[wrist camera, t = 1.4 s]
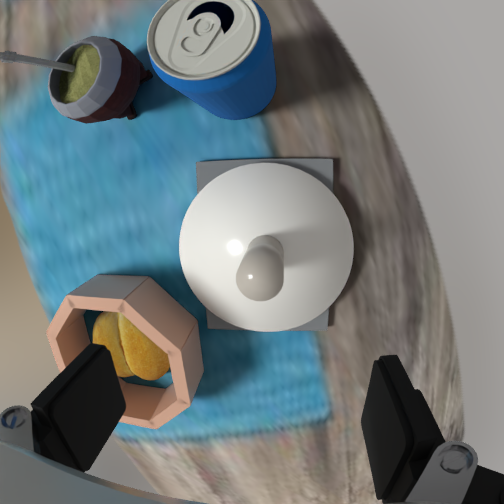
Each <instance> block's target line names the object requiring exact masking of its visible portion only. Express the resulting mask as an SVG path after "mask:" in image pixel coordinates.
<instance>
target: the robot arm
mask: <svg viewBox="0 0 504 504" xmlns="http://www.w3.org/2000/svg"><path fill="white" fill-rule="evenodd" d="M31 406H32V408H33V410H32V411H31V412H30V411H29V409H28V408H26V407H24V406H12V407H9V408H7V409H5V410H4V411H3V412H2V413H1V414H0V504H207V503H200V502H194V501H188V500H182V499H177V498H172V497H167V496H162V495H158V494H154V493H149V492H145V491H141V490H137V489H134V488H130V487H126V486H123V485H120V484H116V483H113V482H110V481H106V480H104V479H100V478H98V477H95V476H92V475H88V474H86V473H84V472H85V471H88V470H89V469H90V468H91V466H92V464H93V463H94V461H95V459H96V458H97V456H98V455H99V453H100V451H101V450H102V448H103V446H104V445H105V443H106V442H107V440H108V438H109V437H110V435H111V433H112V432H113V430H114V429H115V427H116V425H117V424H118V422H119V421H120V419H121V417H122V416H123V414H124V412H125V410H126V402H125V399H124V396H123V393H122V389H121V386H120V383H119V380H118V376H117V373H116V370H115V366H114V363H113V359H112V355H111V352H110V350H108V349H107V347H106V346H105V345H101V344H95V343H90V344H89V345H88V346H87V347H86V348H85V349H84V350H83V351H82V352H81V353H80V354H79V355H78V356H77V357H76V358H75V359H74V360H73V361H72V362H71V363H70V364H69V365H68V366H67V367H66V368H65V369H64V370H63V371H62V372H61V373H60V374H59V375H58V376H57V377H56V378H55V379H54V380H53V381H52V382H51V383H50V384H49V385H48V386H47V387H46V388H45V389H44V390H43V391H42V392H41V393H40V394H39V396H38V397H36V399H35V400H34V401H33V402H32V403H31ZM361 426H362V430H363V435H364V439H365V444H366V448H367V453H368V457H369V462H370V467H371V472H372V477H373V482H374V487H375V492H376V497H377V499H378V500H381V499H382V502H383V504H504V474H501V473H498V472H496V471H493V470H490V469H487V468H485V467H482V466H479V465H477V463H478V457H477V453H476V452H475V450H474V449H473V448H472V447H471V446H470V445H468V444H466V443H464V442H460V441H449V442H445V440H444V438H443V436H442V434H441V431H440V429H439V427H438V425H437V423H436V421H435V419H434V417H433V415H432V413H431V411H430V408H429V406H428V404H427V402H426V400H425V398H424V396H423V394H422V393H421V391H420V390H418V389H416V390H415V389H414V387H413V385H412V383H411V381H410V379H409V377H408V375H407V373H406V371H405V369H404V367H403V365H402V363H401V361H400V360H399V358H398V356H397V355H386V356H380V358H379V360H375V361H374V364H373V368H372V373H371V378H370V383H369V388H368V392H367V397H366V401H365V405H364V409H363V413H362V418H361Z"/></svg>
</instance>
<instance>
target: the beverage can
mask: <svg viewBox="0 0 504 504" xmlns="http://www.w3.org/2000/svg"><path fill="white" fill-rule="evenodd" d="M147 46H148V51H149V56H150V60H151V64H152V66H153V68H154V70H155V72H156V73H157V74H158V76H159V77H160V78H161V79H162V80H163V81H164V82H165V83H167V84H168V85H170V86H171V87H173V88H174V89H176V90H177V91H179V92H181V93H182V94H184V95H185V96H187V97H188V98H190V99H191V100H193V101H194V102H196V103H197V104H199V105H200V106H202V107H203V108H205V109H206V110H208V111H209V112H211V113H212V114H214V115H216V116H218V117H220V118H224V119H229V120H240V119H245V118H249V117H251V116H253V115H256V114H257V113H259V112H260V111H262V110H263V109H264V108H265V107H266V106H267V105H268V104H269V102H270V101H271V99H272V97H273V96H274V93H275V89H276V71H275V62H274V53H273V44H272V35H271V27H270V23H269V20H268V18H267V16H266V14H265V12H264V11H263V10H262V8H261V7H260V6H259V5H258V4H257V3H256V2H255V1H253V0H168V1H167V2H166V3H165V4H164V5H163V6H162V7H161V8H160V9H159V10H158V12H157V13H156V14H155V16H154V18H153V19H152V22H151V24H150V26H149V30H148V35H147Z"/></svg>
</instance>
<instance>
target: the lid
mask: <svg viewBox="0 0 504 504" xmlns="http://www.w3.org/2000/svg"><path fill="white" fill-rule="evenodd" d="M179 254H180V260H181V265H182V269H183V272H184V275H185V277H186V280H187V282H188V284H189V286H190V288H191V289H192V291H193V293H194V294H195V295H196V297H197V298H198V299H199V300H200V302H201V303H202V304H203V305H204V306H205V307H206V308H207V309H208V310H210V311H211V312H212V313H213V314H215V315H216V316H218V317H219V318H221V319H222V320H224V321H226V322H228V323H230V324H232V325H235V326H238V327H241V328H244V329H248V330H253V331H262V332H274V331H282V330H288V329H291V328H295V327H298V326H300V325H303V324H305V323H307V322H309V321H311V320H313V319H314V318H316V317H318V316H319V315H320V314H321V313H323V312H324V311H325V310H326V309H327V308H328V307H329V306H330V305H331V304H332V303H333V302H334V301H335V300H336V298H337V297H338V296H339V295H340V293H341V291H342V290H343V288H344V286H345V284H346V282H347V279H348V277H349V275H350V271H351V267H352V262H353V254H354V242H353V235H352V230H351V226H350V223H349V219H348V217H347V215H346V213H345V211H344V209H343V207H342V205H341V204H340V202H339V201H338V199H337V198H336V197H335V195H334V194H333V193H332V192H331V191H330V190H329V189H328V188H327V187H326V186H325V185H324V184H323V183H322V182H320V181H319V180H317V179H316V178H314V177H313V176H311V175H310V174H308V173H306V172H304V171H302V170H300V169H297V168H294V167H291V166H288V165H282V164H277V163H254V164H248V165H243V166H239V167H237V168H234V169H231V170H229V171H227V172H225V173H223V174H221V175H219V176H218V177H216V178H215V179H213V180H212V181H211V182H209V183H208V184H207V185H206V186H205V187H204V188H203V189H202V190H201V191H200V192H199V193H198V195H197V196H196V197H195V199H194V200H193V201H192V203H191V205H190V207H189V208H188V210H187V212H186V215H185V217H184V220H183V223H182V227H181V231H180V240H179Z"/></svg>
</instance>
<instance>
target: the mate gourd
mask: <svg viewBox="0 0 504 504" xmlns="http://www.w3.org/2000/svg"><path fill="white" fill-rule="evenodd" d="M0 60H2V62H5V63H6V62H7V63H13V62H19V63H26V64H32V65H37V66H43V67H48V68H52V69H51V72H50V74H49V81H48V90H49V94H50V98H51V101H52V103H53V105H54V107H55V108H56V109H57V110H58V111H59V112H60V113H61V114H62V115H63V116H66V117H68V118H70V119H73V120H76V121H80V122H83V123H94V122H100V121H106V120H110V119H113V118H124V117H126V116H127V118H128V120H132V119H134V118H135V117H136V116H137V114H136V111H135V108H134V106H133V103H132V101H133V99H134V97H135V95H136V92H137V90H138V88H139V85H141V84H143V83H144V82H146V81H148V80H149V79H151V78H152V73H151V72H150V70H147V71H145V69H144V66H143V64H142V63H141V62H140V61H139V60H138V59H137V58H136V57H135V56H134V54H133V53H132V52H131V51H130V50H129V49H127V48H126V47H125V46H124V45H122V44H121V43H120V42H118V41H116V40H114V39H108V38H106V37H97V36H92V37H88V38H85V39H83V40H80V41H77V42H75V43H73V44H71V45H70V46H69V47H68V48H66V49H65V50H64V51H63V52H62V53H61V54H60V55H59V57H58V58H57V60H56V61H51V60H46V59H41V58H36V57H30V56H25V55H19V54H16V52H10V51H5V52H0Z"/></svg>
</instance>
